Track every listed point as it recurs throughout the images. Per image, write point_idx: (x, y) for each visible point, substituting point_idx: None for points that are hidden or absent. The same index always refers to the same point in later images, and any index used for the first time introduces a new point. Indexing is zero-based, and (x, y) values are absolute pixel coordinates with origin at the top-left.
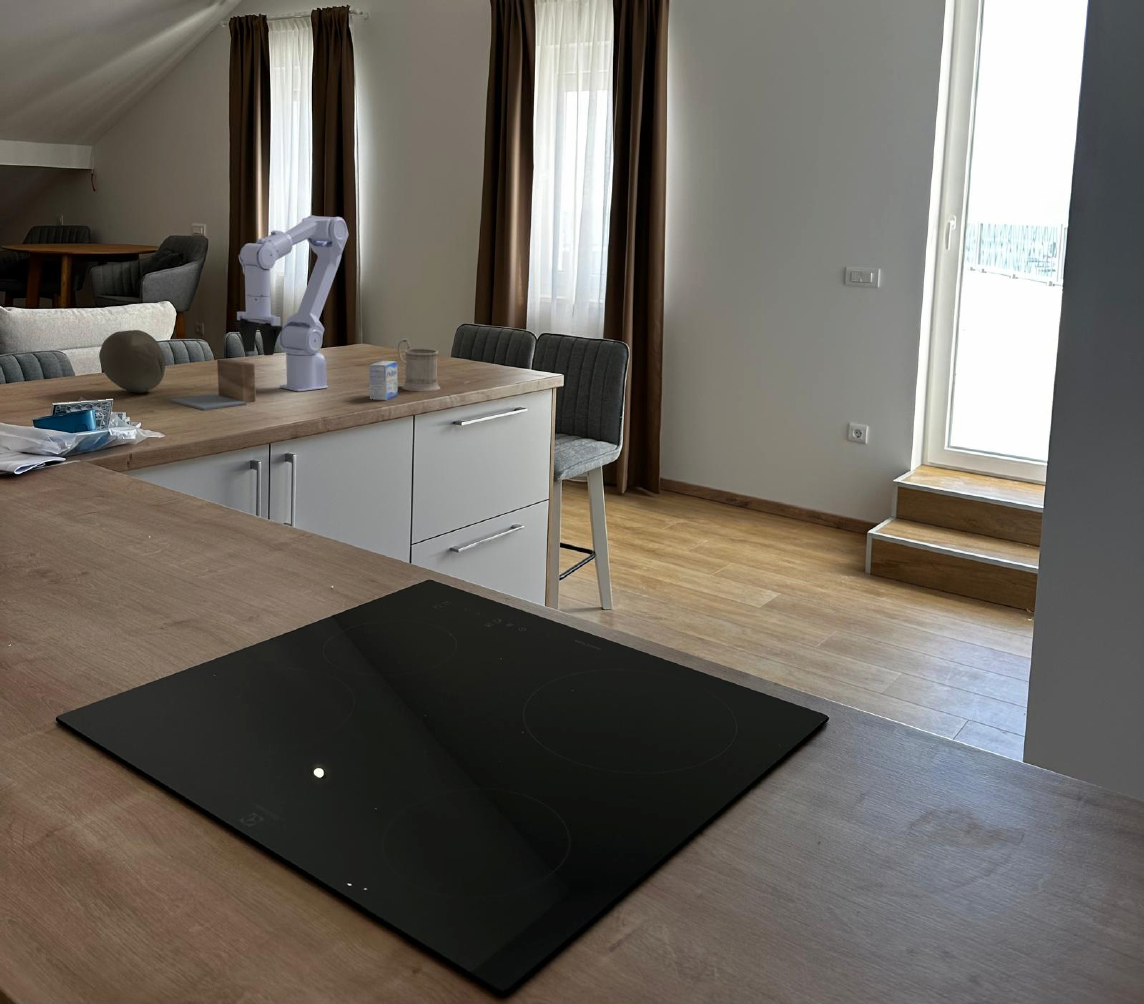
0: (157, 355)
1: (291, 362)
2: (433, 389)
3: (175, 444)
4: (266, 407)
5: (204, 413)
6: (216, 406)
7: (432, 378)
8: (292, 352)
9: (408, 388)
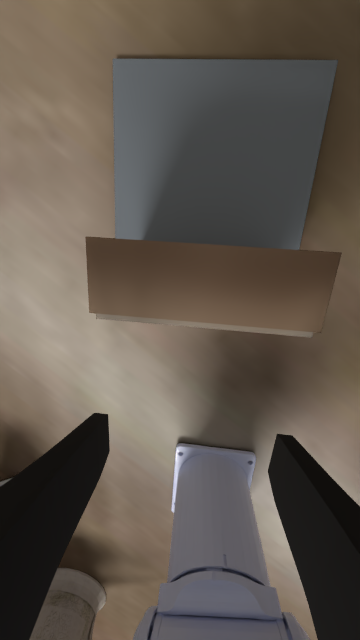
0: None
1: (210, 530)
2: None
3: None
4: (56, 257)
5: (70, 29)
6: (114, 118)
7: None
8: (213, 584)
9: (66, 573)
